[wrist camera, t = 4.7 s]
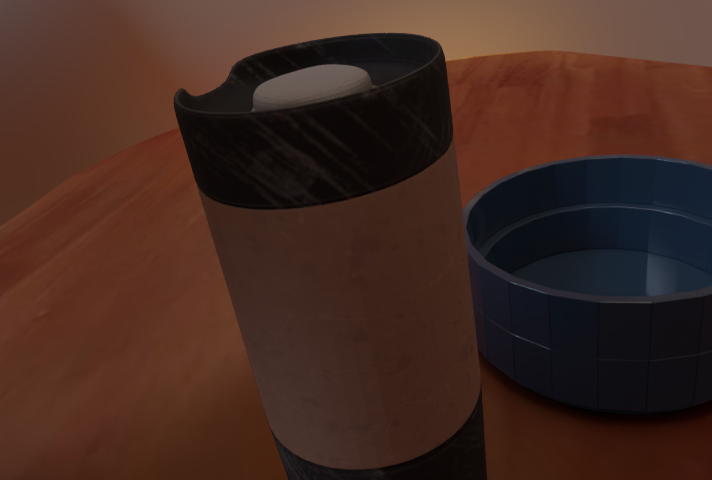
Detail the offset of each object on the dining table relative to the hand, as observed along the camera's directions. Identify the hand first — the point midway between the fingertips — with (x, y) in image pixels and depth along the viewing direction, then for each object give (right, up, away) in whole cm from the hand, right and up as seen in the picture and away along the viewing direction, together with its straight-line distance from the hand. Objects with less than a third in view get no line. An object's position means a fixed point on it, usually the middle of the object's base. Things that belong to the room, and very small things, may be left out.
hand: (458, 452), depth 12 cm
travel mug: (0, -9, +15) cm, 17 cm away
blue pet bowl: (+13, -1, +25) cm, 28 cm away
